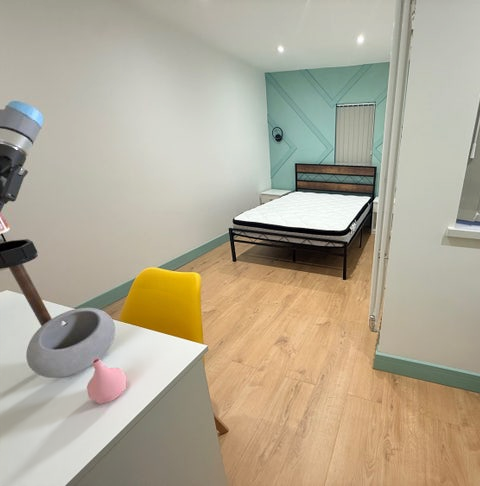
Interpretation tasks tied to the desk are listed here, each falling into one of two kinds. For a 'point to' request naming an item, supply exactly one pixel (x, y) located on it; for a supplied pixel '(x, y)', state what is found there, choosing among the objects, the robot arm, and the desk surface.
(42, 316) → the stand
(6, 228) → the pill bottle
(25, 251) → the holder
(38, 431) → the desk surface
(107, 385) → the pink vase
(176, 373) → the desk surface
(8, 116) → the robot arm
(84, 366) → the planter
